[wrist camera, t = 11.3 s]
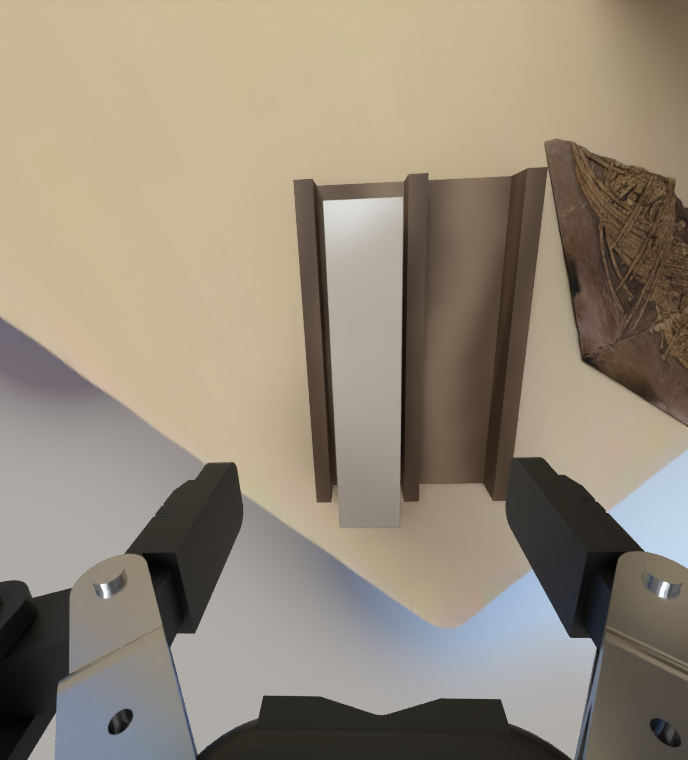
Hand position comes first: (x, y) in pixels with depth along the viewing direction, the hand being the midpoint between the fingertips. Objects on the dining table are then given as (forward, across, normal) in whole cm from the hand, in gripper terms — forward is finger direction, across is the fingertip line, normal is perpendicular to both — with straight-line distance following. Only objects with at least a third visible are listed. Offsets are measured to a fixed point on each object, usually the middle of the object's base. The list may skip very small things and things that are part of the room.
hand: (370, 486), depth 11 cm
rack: (+20, -4, +1) cm, 21 cm away
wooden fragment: (+21, -21, -3) cm, 29 cm away
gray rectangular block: (+19, 0, +1) cm, 19 cm away
